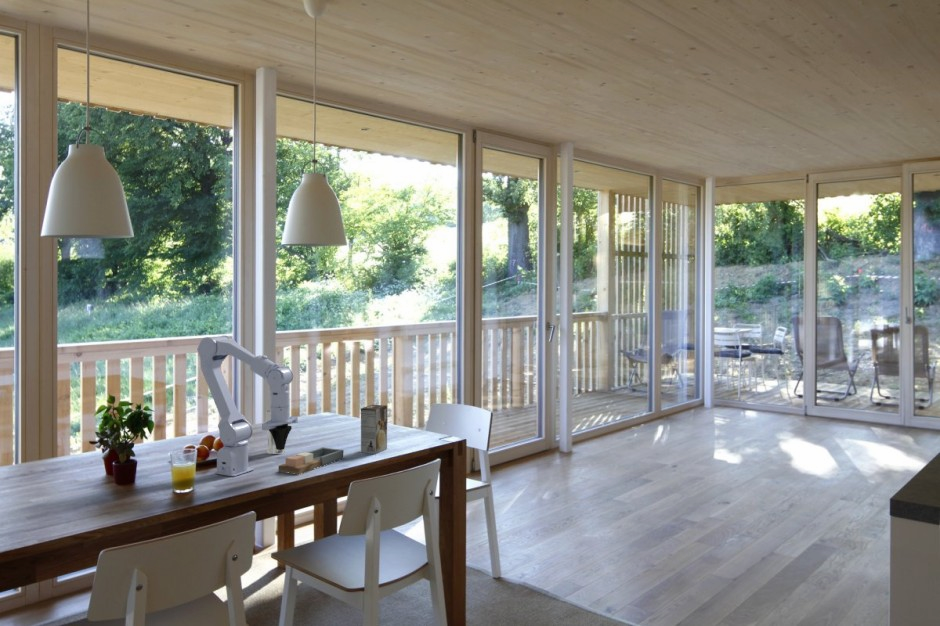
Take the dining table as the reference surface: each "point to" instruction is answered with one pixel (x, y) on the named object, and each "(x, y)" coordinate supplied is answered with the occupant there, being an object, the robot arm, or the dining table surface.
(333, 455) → the tray
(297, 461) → the tile terracotta
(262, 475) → the dining table surface
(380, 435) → the coffee box
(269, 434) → the beer glass
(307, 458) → the tile cream
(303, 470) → the board
